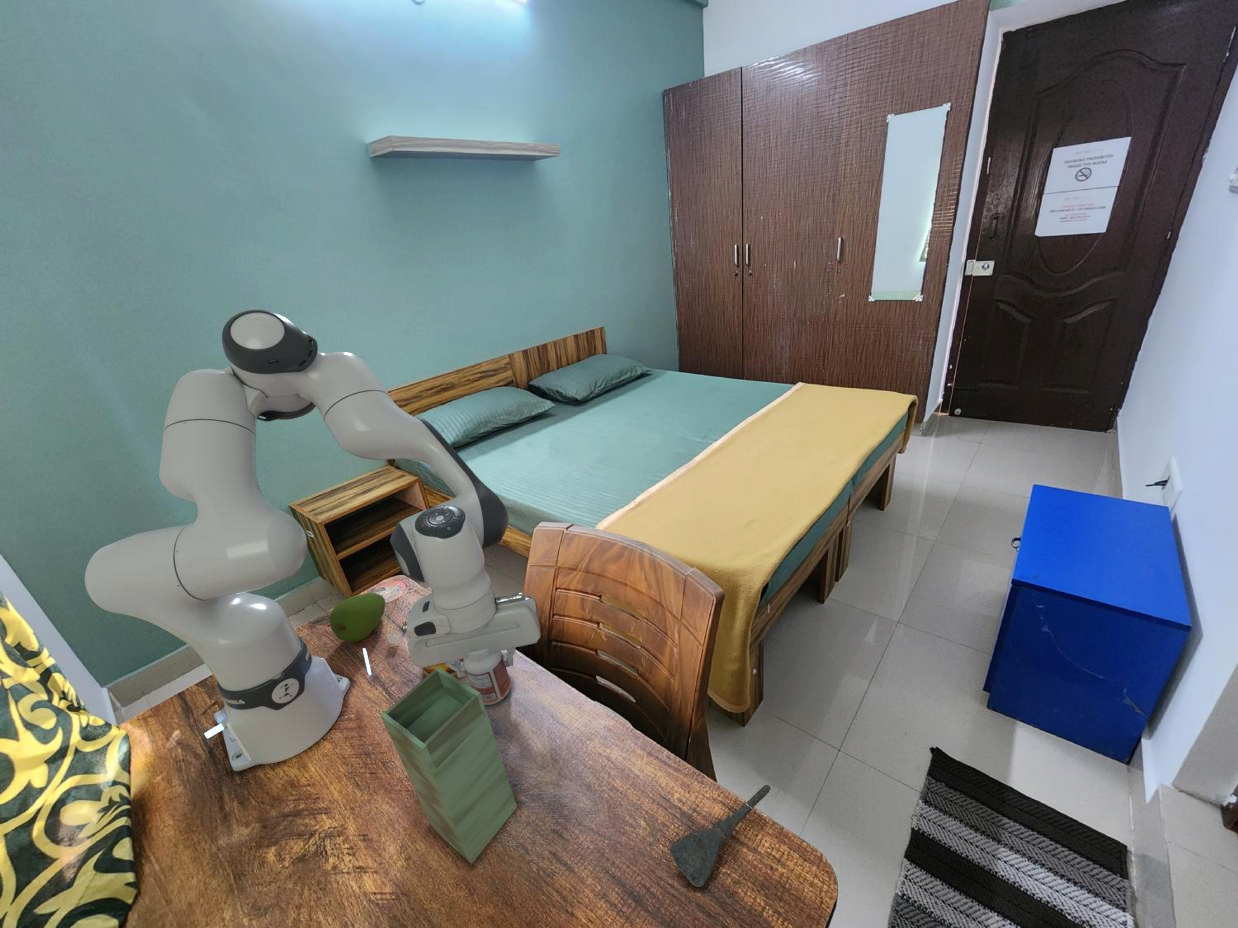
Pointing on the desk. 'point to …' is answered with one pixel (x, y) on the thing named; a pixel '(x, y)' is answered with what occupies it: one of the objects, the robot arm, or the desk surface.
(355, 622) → the green mango
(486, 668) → the pill bottle
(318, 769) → the desk surface
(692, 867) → the artifact
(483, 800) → the holder
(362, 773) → the desk surface
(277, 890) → the desk surface
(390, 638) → the figurine
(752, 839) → the desk surface
